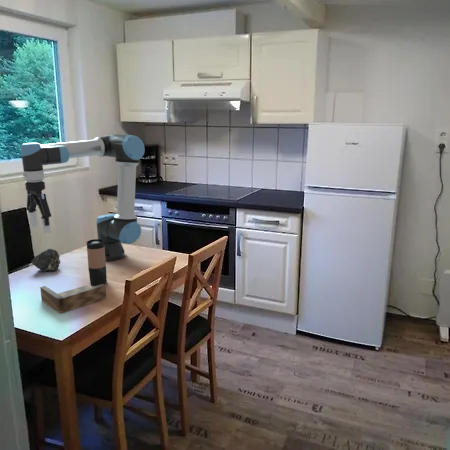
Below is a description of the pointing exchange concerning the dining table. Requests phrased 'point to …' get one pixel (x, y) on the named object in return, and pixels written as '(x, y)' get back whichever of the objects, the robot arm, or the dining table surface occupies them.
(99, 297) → the wooden l-shaped block
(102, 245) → the travel mug
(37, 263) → the rock
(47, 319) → the dining table surface
